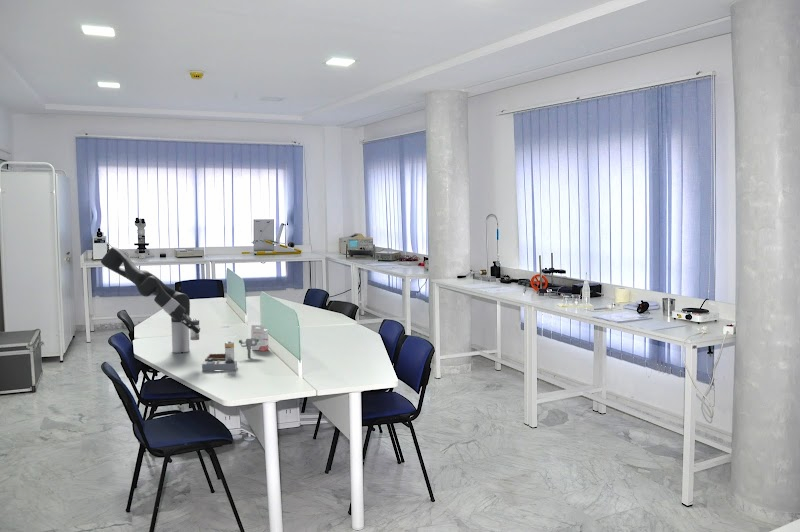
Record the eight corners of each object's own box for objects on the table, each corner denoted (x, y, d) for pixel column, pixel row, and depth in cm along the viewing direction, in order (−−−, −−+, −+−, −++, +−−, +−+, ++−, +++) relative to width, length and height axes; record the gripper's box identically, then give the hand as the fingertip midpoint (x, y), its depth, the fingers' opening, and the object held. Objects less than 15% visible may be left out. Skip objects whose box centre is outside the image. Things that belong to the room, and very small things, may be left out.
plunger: (207, 368, 322) (207, 358, 322) (215, 368, 323) (214, 357, 322) (206, 370, 318) (205, 359, 318) (213, 370, 319) (213, 359, 318)
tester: (204, 368, 323) (204, 360, 323) (236, 367, 325) (236, 359, 325) (202, 371, 317) (202, 363, 317) (235, 370, 319) (235, 362, 319)
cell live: (225, 361, 323) (225, 340, 322) (235, 361, 324) (234, 340, 323) (224, 363, 319) (224, 342, 318) (233, 363, 319) (233, 342, 318)
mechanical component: (239, 357, 346) (238, 339, 345) (258, 355, 350) (258, 337, 349) (239, 358, 343) (239, 340, 342) (259, 357, 347) (258, 339, 346)
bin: (209, 360, 339) (209, 354, 339) (231, 359, 340) (231, 353, 340) (205, 365, 328) (204, 359, 328) (227, 365, 329) (227, 358, 329)
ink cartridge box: (268, 349, 365) (268, 324, 364) (265, 351, 360) (264, 325, 359) (255, 348, 367) (254, 323, 366) (251, 350, 362) (250, 325, 361)
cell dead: (191, 338, 330) (191, 318, 329) (200, 338, 330) (200, 318, 329) (189, 340, 326) (189, 319, 324) (198, 340, 326) (198, 319, 325)
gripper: (169, 311, 330) (194, 333, 334) (167, 316, 316) (192, 339, 321) (180, 301, 331) (204, 323, 335) (178, 305, 317) (203, 328, 322)
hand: (198, 331), depth 328 cm, fingers closed on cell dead, 4 cm apart
